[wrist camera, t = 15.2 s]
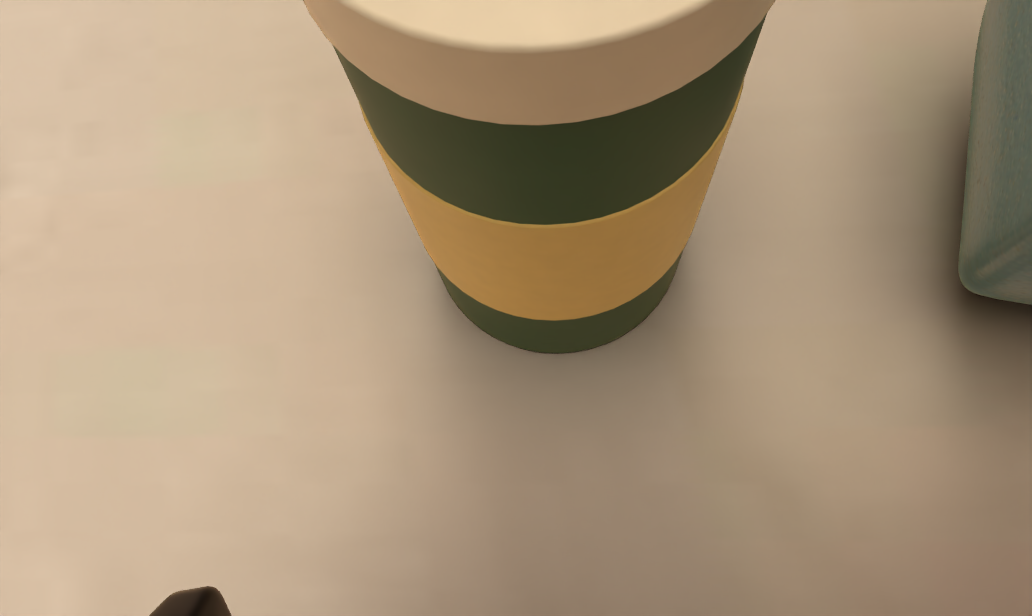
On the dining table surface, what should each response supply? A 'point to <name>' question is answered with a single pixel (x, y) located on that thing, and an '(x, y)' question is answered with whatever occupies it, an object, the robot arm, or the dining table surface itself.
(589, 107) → the cheese shaker
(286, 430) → the dining table surface
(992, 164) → the flower pot
